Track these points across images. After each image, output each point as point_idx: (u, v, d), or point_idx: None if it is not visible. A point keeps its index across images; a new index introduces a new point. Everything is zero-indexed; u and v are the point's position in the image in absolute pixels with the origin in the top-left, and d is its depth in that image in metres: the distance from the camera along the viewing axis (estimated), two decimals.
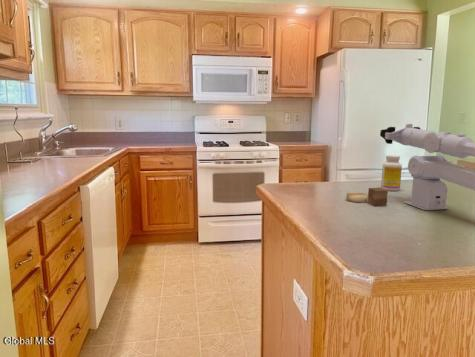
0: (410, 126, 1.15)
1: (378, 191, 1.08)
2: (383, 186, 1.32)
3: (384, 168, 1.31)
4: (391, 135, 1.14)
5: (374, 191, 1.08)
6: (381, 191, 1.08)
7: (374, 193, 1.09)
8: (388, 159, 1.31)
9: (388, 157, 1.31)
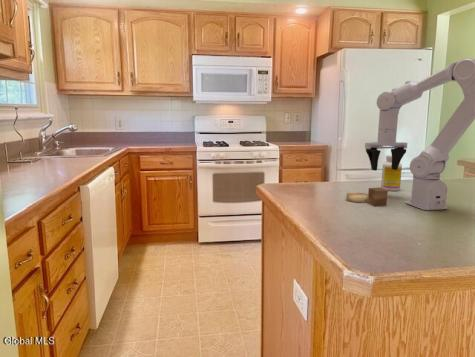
0: None
1: (378, 191, 1.08)
2: (383, 186, 1.32)
3: (384, 168, 1.31)
4: None
5: (374, 191, 1.08)
6: (381, 191, 1.08)
7: (374, 193, 1.09)
8: (388, 159, 1.31)
9: (388, 157, 1.31)
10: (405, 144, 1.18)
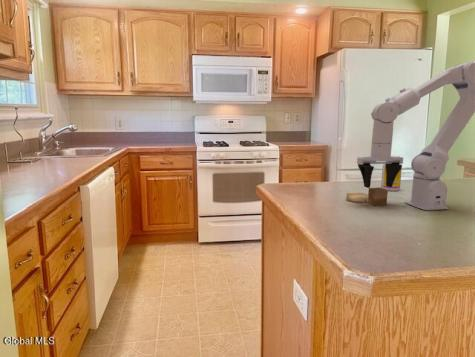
0: None
1: (378, 191, 1.08)
2: (383, 186, 1.32)
3: (384, 168, 1.31)
4: None
5: (374, 191, 1.08)
6: (381, 191, 1.08)
7: (374, 193, 1.09)
8: None
9: None
10: (401, 159, 1.09)
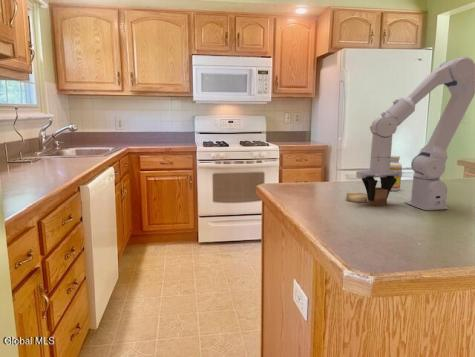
0: None
1: (378, 191, 1.08)
2: None
3: None
4: None
5: None
6: (381, 191, 1.08)
7: None
8: None
9: None
10: (400, 172, 1.09)
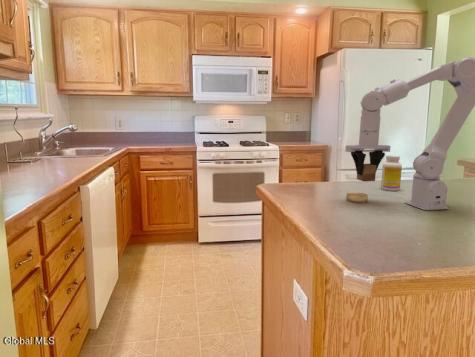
0: None
1: (367, 166, 1.09)
2: (383, 186, 1.32)
3: (384, 168, 1.31)
4: None
5: (363, 166, 1.10)
6: (370, 166, 1.10)
7: (363, 169, 1.10)
8: (388, 159, 1.31)
9: (388, 157, 1.31)
10: (388, 147, 1.11)
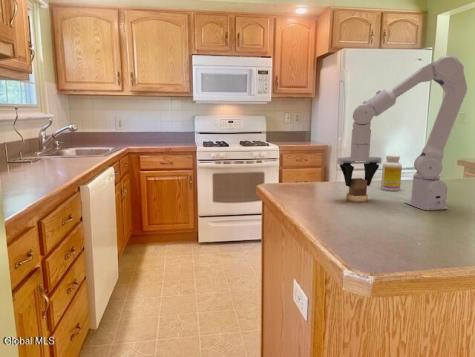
0: None
1: (358, 181, 1.12)
2: (383, 186, 1.32)
3: (384, 168, 1.31)
4: None
5: (354, 181, 1.13)
6: (361, 181, 1.13)
7: (354, 184, 1.13)
8: (388, 159, 1.31)
9: (388, 157, 1.31)
10: (379, 159, 1.14)
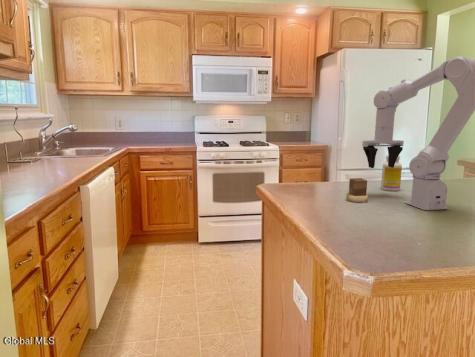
0: None
1: (358, 181, 1.12)
2: (383, 186, 1.32)
3: (384, 168, 1.31)
4: None
5: (354, 181, 1.13)
6: (361, 181, 1.13)
7: (354, 184, 1.13)
8: None
9: (388, 157, 1.31)
10: (401, 142, 1.20)
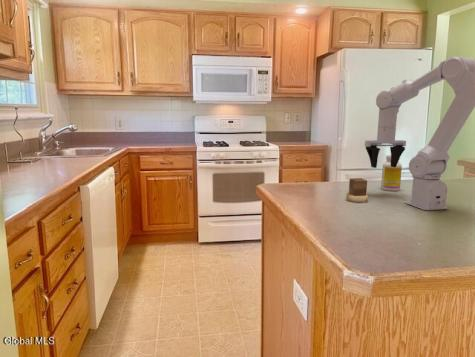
0: None
1: (358, 181, 1.12)
2: (383, 186, 1.32)
3: (384, 168, 1.31)
4: None
5: (354, 181, 1.13)
6: (361, 181, 1.13)
7: (354, 184, 1.13)
8: (388, 159, 1.31)
9: (388, 157, 1.31)
10: (404, 142, 1.21)
